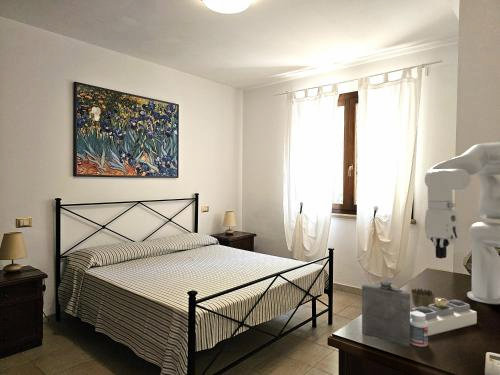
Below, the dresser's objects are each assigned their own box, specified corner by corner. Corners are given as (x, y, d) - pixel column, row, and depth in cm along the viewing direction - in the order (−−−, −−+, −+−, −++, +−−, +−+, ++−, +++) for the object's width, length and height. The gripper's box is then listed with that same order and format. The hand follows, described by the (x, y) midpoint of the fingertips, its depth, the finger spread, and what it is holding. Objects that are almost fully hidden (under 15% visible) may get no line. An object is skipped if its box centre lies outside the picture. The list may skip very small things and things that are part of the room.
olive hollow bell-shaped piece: (436, 317, 119) (436, 295, 119) (414, 315, 120) (414, 294, 120) (429, 309, 126) (430, 288, 126) (409, 308, 128) (409, 287, 127)
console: (451, 313, 122) (452, 297, 122) (476, 323, 114) (476, 306, 113) (404, 324, 113) (405, 307, 113) (427, 335, 105) (427, 317, 105)
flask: (364, 330, 109) (364, 275, 109) (411, 342, 101) (411, 284, 100) (360, 334, 107) (360, 278, 106) (408, 347, 98) (408, 287, 97)
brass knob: (439, 304, 116) (439, 296, 116) (449, 307, 112) (449, 299, 112) (432, 305, 114) (432, 297, 114) (441, 309, 111) (441, 301, 111)
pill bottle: (427, 348, 97) (427, 318, 97) (407, 344, 100) (407, 315, 100) (428, 341, 101) (428, 312, 101) (409, 337, 104) (409, 309, 104)
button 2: (455, 306, 119) (455, 299, 119) (465, 309, 115) (465, 302, 115) (448, 307, 117) (448, 300, 117) (458, 311, 114) (458, 303, 114)
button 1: (423, 313, 113) (423, 305, 113) (432, 317, 109) (432, 309, 109) (415, 314, 111) (415, 307, 111) (424, 319, 108) (424, 311, 108)
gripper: (468, 206, 110) (469, 261, 111) (429, 203, 124) (430, 251, 125) (452, 208, 107) (453, 264, 108) (414, 204, 121) (415, 254, 122)
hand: (441, 257), depth 116 cm, fingers closed
